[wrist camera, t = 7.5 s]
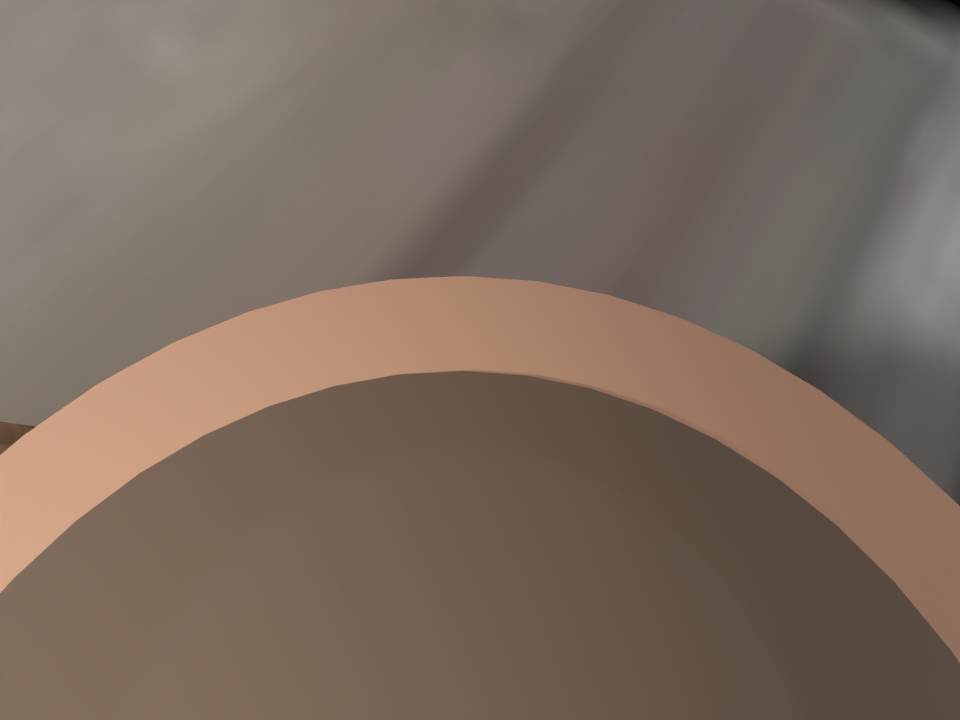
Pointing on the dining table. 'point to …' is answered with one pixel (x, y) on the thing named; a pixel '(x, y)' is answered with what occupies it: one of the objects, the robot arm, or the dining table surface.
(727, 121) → the dining table surface
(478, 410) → the terracotta pot
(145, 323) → the dining table surface
